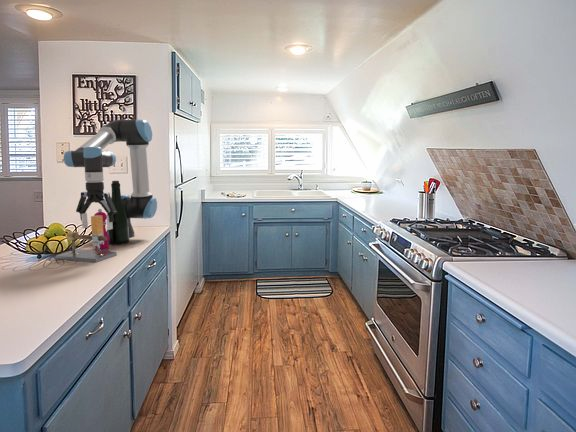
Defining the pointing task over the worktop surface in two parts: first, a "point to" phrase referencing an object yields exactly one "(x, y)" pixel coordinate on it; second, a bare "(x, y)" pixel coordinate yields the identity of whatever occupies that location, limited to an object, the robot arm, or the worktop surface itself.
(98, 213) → the pepper mill
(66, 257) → the bolt plate
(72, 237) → the wooden rod with block
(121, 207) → the beer bottle
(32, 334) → the worktop surface
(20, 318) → the worktop surface
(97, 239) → the block
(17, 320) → the worktop surface
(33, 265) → the worktop surface
